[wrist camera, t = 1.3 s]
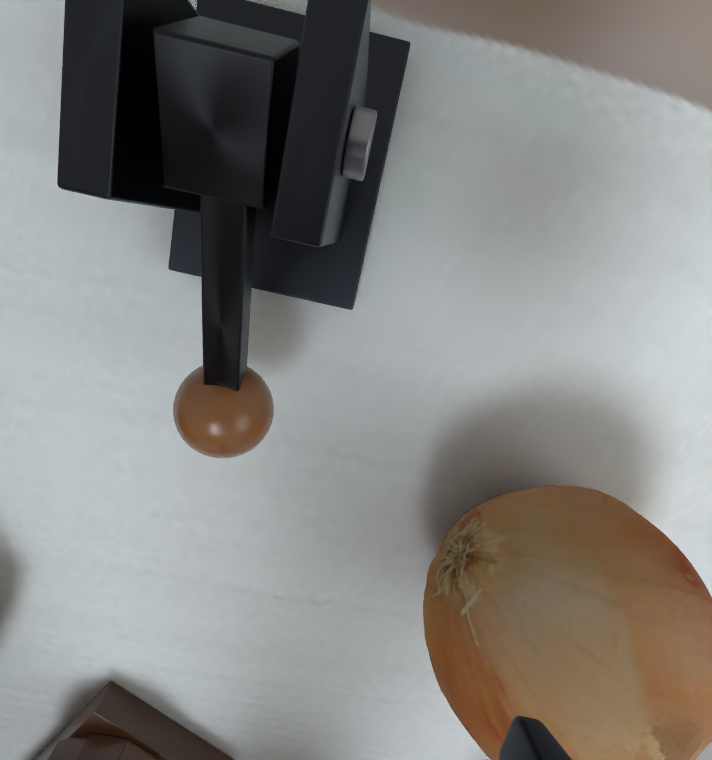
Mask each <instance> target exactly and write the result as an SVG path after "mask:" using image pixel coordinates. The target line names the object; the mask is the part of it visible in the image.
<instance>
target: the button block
mask: <svg viewBox="0 0 712 760" xmlns="http://www.w3.org/2000/svg"><path fill="white" fill-rule="evenodd" d="M34 760H233V759H232V758H230V757H229V756H227V755H225V754H224V753H222V752H221V751H219V750H218V749H216V748H214V747H213V746H211V745H210V744H208V743H207V742H205V741H204V740H202V739H200V738H199V737H197V736H196V735H194V734H193V733H191V732H190V731H188V730H186V729H185V728H183V727H182V726H180V725H179V724H177V723H176V722H174V721H172V720H171V719H169V718H168V717H166V716H165V715H163V714H161V713H160V712H158V711H157V710H155V709H154V708H152V707H151V706H149V705H147V704H146V703H144V702H143V701H141V700H140V699H138V698H137V697H135V696H133V695H132V694H130V693H129V692H127V691H126V690H124V689H123V688H121V687H119V686H118V685H116V684H115V683H113V682H110V683H109V684H108V685H107V686H106V687H105V688H104V689H103V690H102V691H101V692H100V693H99V694H98V695H97V696H96V697H95V698H94V699H93V700H92V701H91V702H90V703H89V704H88V705H87V706H86V707H85V708H84V709H83V710H82V711H81V712H80V714H79V715H78V716H77V717H76V718H75V719H74V720H73V721H72V722H71V723H70V724H69V725H68V726H67V727H66V728H65V729H64V730H63V731H62V732H61V733H60V734H59V735H58V736H57V737H56V738H55V739H54V740H53V741H52V742H51V743H50V744H49V745H48V746H47V747H46V748H45V749H44V750H43V751H42V752H41V753H40V754H39V755H38V756H37V757H36V758H35V759H34Z"/></svg>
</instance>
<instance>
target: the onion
mask: <svg viewBox="0 0 712 760" xmlns="http://www.w3.org/2000/svg"><path fill="white" fill-rule="evenodd" d="M423 616H424V631H425V639H426V644H427V647H428V651H429V655H430V660H431V663H432V667H433V670H434V673H435V676H436V679H437V681H438V684H439V686H440V688H441V691H442V692H443V694H444V696H445V697H446V699H447V701H448V703H449V704H450V706H451V708H452V710H453V711H454V713H455V714H456V716H457V717H458V719H459V720H460V721H461V723H462V724H463V726H464V727H465V728H466V730H467V731H468V732H469V734H470V735H471V736H472V738H473V739H474V740H475V741H476V743H477V744H478V745H479V747H480V748H481V749H482V750H483V751H484V752H485V754H486V755H487V756H488V757H489V758H490V759H491V760H499V753H500V749H501V746H502V743H503V741H504V739H505V736H506V734H507V732H508V729H509V727H510V725H511V722H512V720H513V719H514V718H515V717H516V716H524V717H529V718H535V719H538V720H540V721H541V722H542V723H543V724H544V725H545V726H546V728H547V729H548V730H549V731H550V733H551V734H552V735H553V736H554V737H555V739H556V740H557V741H558V742H559V744H560V745H561V746H562V747H563V749H564V750H565V751H566V752H567V754H568V755H569V756H570V757H571V759H572V760H695V759H696V758H697V757H698V756H699V754H700V753H701V752H702V751H703V750H704V749H705V748H706V747H707V746H708V745H709V744H710V743H711V742H712V597H711V595H710V593H709V591H708V589H707V587H706V586H705V584H704V583H703V581H702V579H701V578H700V576H699V575H698V573H697V572H696V570H695V569H694V567H693V566H692V564H691V563H690V562H689V560H688V559H687V558H686V557H685V555H684V554H683V553H682V552H681V551H680V550H679V548H678V547H677V546H676V545H675V544H674V543H673V542H672V541H671V540H670V539H669V538H668V537H667V536H666V535H665V534H664V533H663V532H661V531H660V530H659V529H658V528H657V527H655V526H654V525H653V524H651V523H650V522H649V521H648V520H646V519H645V518H644V517H642V516H641V515H640V514H638V513H637V512H635V511H634V510H633V509H631V508H630V507H629V506H627V505H626V504H624V503H623V502H621V501H619V500H617V499H616V498H614V497H612V496H610V495H607V494H605V493H602V492H600V491H597V490H593V489H589V488H583V487H577V486H540V487H534V488H528V489H523V490H519V491H511V492H506V493H504V494H501V495H499V496H497V497H495V498H492V499H490V500H488V501H486V502H484V503H482V504H480V505H478V506H476V507H475V508H473V509H472V510H470V511H469V512H467V513H466V514H465V515H464V516H463V517H462V518H461V519H460V520H459V521H458V522H457V523H456V524H454V526H453V527H452V528H451V530H450V531H449V532H448V534H447V535H446V536H445V538H444V540H443V542H442V544H441V546H440V548H439V550H438V552H437V554H436V556H435V558H434V559H433V561H432V563H431V565H430V567H429V571H428V575H427V583H426V588H425V593H424V602H423Z"/></svg>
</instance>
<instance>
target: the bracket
mask: <svg viewBox="0 0 712 760" xmlns="http://www.w3.org/2000/svg"><path fill="white" fill-rule="evenodd" d="M370 11H371V0H308V3H307V9H306V15H302V14H298V13H294V12H290V11H286V10H282V9H278V8H274V7H270V6H266V5H262V4H258V3H254V2H250V1H246V0H197V10H195V9H194V7H193V6H192V4H191V3H190V2H189V0H65V19H64V42H63V66H62V89H61V112H60V135H59V159H58V182H57V184H58V186H59V187H60V188H61V189H64V190H68V191H73V192H77V193H82V194H86V195H90V196H95V197H99V198H104V199H108V200H115V201H122V202H128V203H135V204H142V205H149V206H155V207H162V208H169V209H175V213H174V222H173V231H172V241H171V250H170V259H169V269H170V270H173V271H178V272H182V273H187V274H191V275H196V276H200V277H201V224H200V195H197V194H193V193H189V192H184V191H180V190H175V189H171V188H167V187H164V186H163V184H162V172H161V158H160V144H159V129H158V115H157V100H156V86H155V72H154V57H153V43H152V29H153V28H155V27H159V26H163V25H167V24H171V23H175V22H178V21H182V20H186V19H190V18H194V17H198V16H202V17H206V18H210V19H214V20H218V21H222V22H226V23H230V24H234V25H238V26H242V27H246V28H250V29H254V30H258V31H262V32H266V33H270V34H274V35H278V36H282V37H286V38H290V39H294V40H297V41H298V42H299V56H298V64H297V71H296V77H295V83H294V89H293V95H292V101H291V107H290V114H289V120H288V126H287V132H286V138H285V144H284V150H283V157H282V163H281V169H280V175H279V181H278V187H277V189H276V191H275V192H274V194H273V196H272V197H271V199H270V200H269V202H268V204H267V205H266V207H265V209H258V208H256V219H255V236H254V253H253V269H252V286H251V288H255V289H259V290H264V291H268V292H273V293H277V294H282V295H286V296H291V297H295V298H300V299H304V300H309V301H313V302H318V303H322V304H327V305H332V306H336V307H341V308H345V309H350V310H352V309H353V306H354V301H355V297H356V292H357V288H358V283H359V278H360V274H361V269H362V265H363V260H364V256H365V251H366V246H367V242H368V237H369V233H370V228H371V223H372V219H373V214H374V210H375V205H376V200H377V196H378V191H379V187H380V182H381V178H382V173H383V168H384V164H385V159H386V155H387V150H388V145H389V141H390V136H391V132H392V127H393V123H394V118H395V113H396V109H397V104H398V100H399V95H400V90H401V86H402V81H403V77H404V72H405V67H406V63H407V58H408V54H409V49H410V42H408V41H404V40H400V39H396V38H392V37H388V36H384V35H381V34H377V33H373V32H369V31H370Z"/></svg>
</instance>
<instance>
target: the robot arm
mask: <svg viewBox="0 0 712 760" xmlns="http://www.w3.org/2000/svg"><path fill="white" fill-rule="evenodd" d="M499 760H572V759H571V757H570V756H569V755H568V754H567V752H566V751H565V750H564V749H563V747H562V746H561V745H560V744H559V742H558V741H557V740H556V739H555V737H554V736H553V735H552V734H551V733H550V731H549V730H548V729H547V728H546V726H545V725H544V724H543V723H542V722H541V721H540V720H538V719H535V718H529V717H524V716H516V717H515V718H514V719H513V720H512V722H511V725H510V727H509V729H508V732H507V734H506V736H505V739H504V741H503V743H502V746H501V749H500V753H499Z"/></svg>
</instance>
